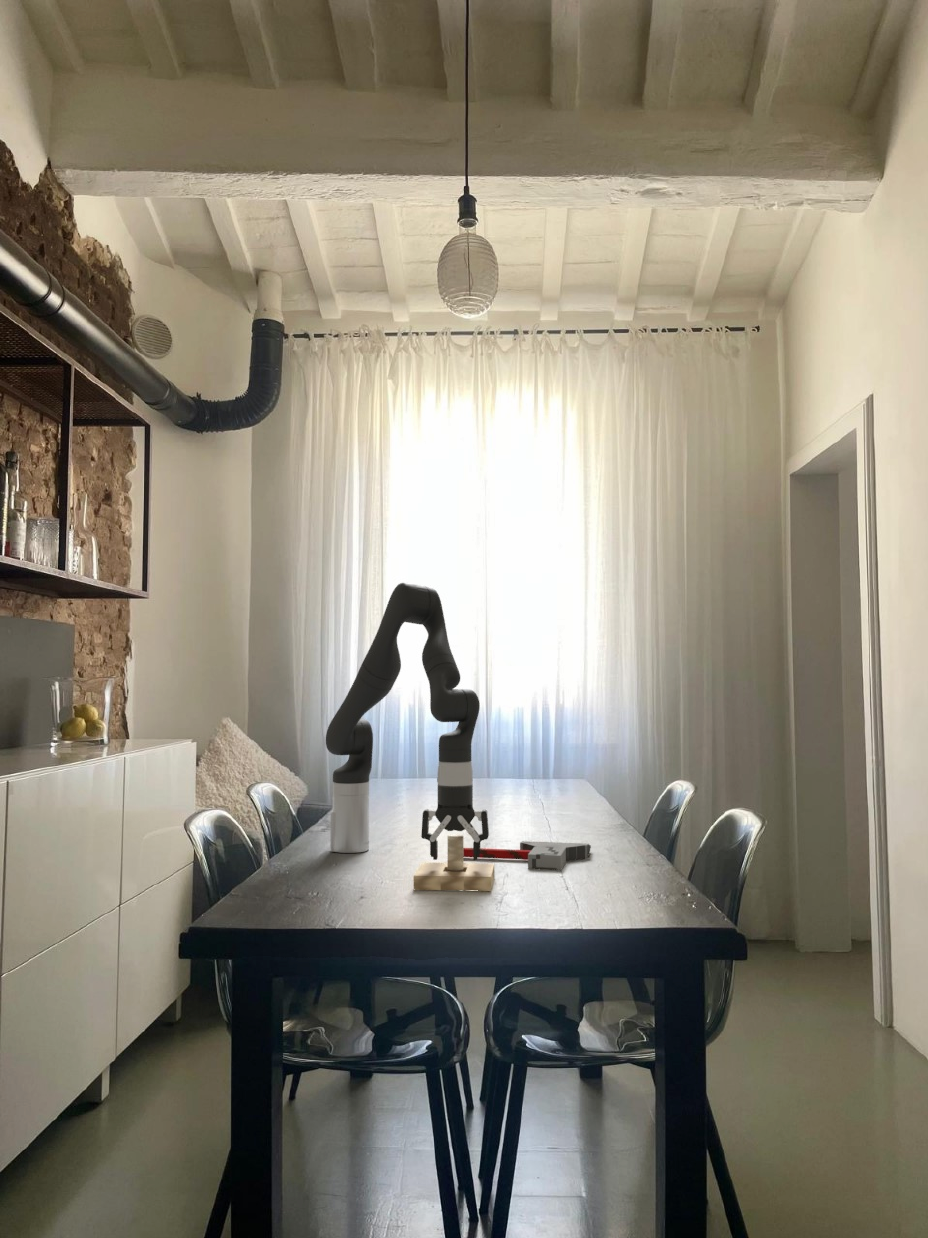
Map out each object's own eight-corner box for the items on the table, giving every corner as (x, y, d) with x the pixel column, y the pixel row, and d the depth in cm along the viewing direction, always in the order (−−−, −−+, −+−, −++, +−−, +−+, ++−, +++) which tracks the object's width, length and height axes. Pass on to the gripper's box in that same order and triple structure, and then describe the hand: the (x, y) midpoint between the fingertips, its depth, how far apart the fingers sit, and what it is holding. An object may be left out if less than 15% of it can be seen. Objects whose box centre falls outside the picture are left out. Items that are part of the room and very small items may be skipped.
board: (413, 890, 198) (413, 875, 198) (422, 876, 212) (422, 862, 212) (491, 891, 196) (491, 876, 196) (494, 877, 210) (494, 863, 210)
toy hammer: (473, 834, 247) (590, 838, 240) (473, 849, 247) (590, 854, 240) (452, 851, 223) (581, 856, 217) (452, 867, 223) (581, 873, 217)
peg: (446, 885, 202) (446, 837, 203) (448, 882, 206) (448, 834, 206) (463, 885, 202) (463, 837, 203) (464, 882, 206) (464, 835, 206)
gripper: (489, 781, 208) (489, 856, 207) (424, 780, 210) (424, 855, 209) (487, 785, 201) (487, 863, 200) (419, 784, 202) (419, 862, 201)
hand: (455, 859), depth 204 cm, fingers open, 8 cm apart
